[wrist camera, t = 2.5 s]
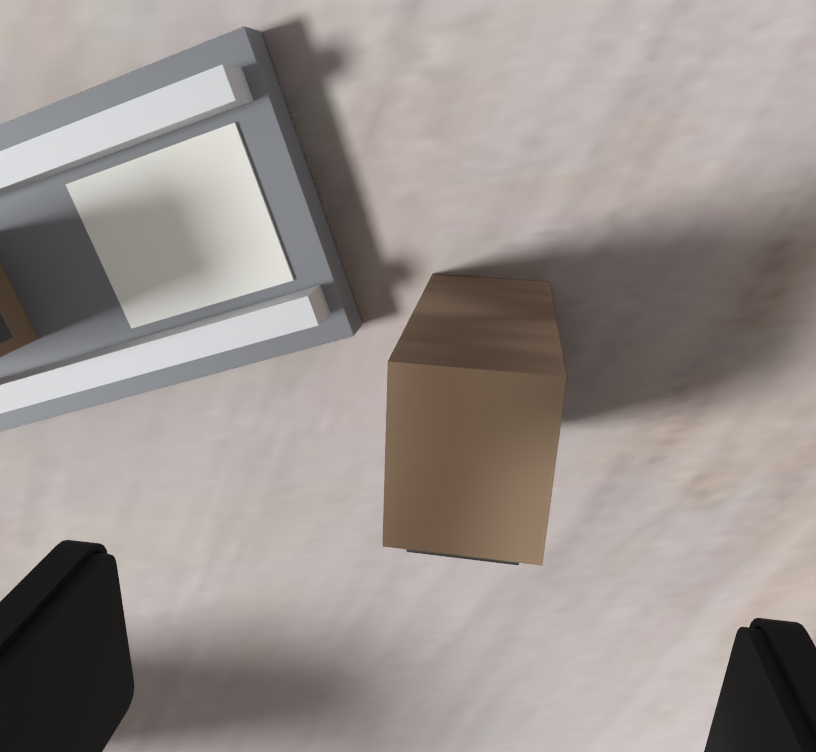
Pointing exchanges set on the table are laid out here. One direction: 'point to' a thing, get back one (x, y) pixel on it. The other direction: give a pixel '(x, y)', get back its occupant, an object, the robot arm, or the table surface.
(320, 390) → the table surface
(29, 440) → the table surface
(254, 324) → the frame
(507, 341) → the walnut finger
